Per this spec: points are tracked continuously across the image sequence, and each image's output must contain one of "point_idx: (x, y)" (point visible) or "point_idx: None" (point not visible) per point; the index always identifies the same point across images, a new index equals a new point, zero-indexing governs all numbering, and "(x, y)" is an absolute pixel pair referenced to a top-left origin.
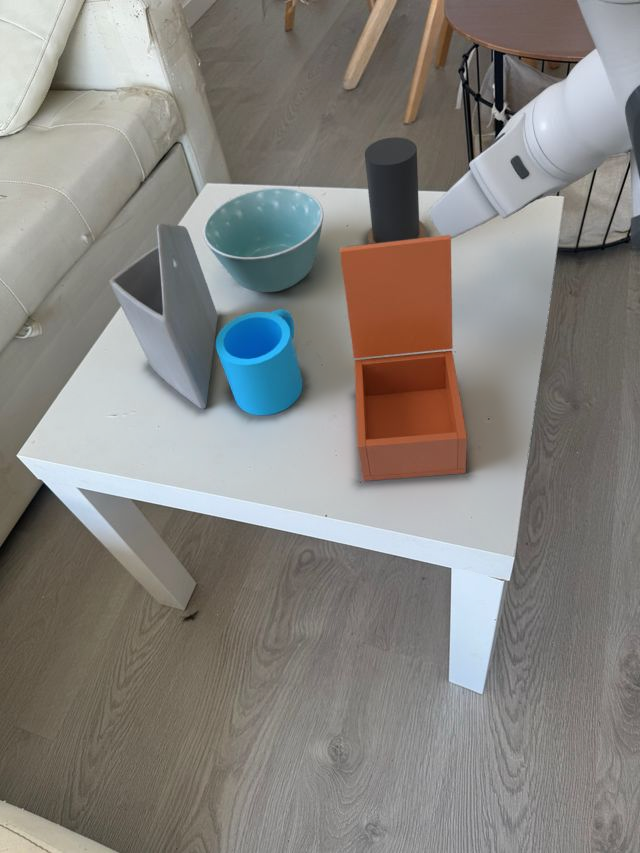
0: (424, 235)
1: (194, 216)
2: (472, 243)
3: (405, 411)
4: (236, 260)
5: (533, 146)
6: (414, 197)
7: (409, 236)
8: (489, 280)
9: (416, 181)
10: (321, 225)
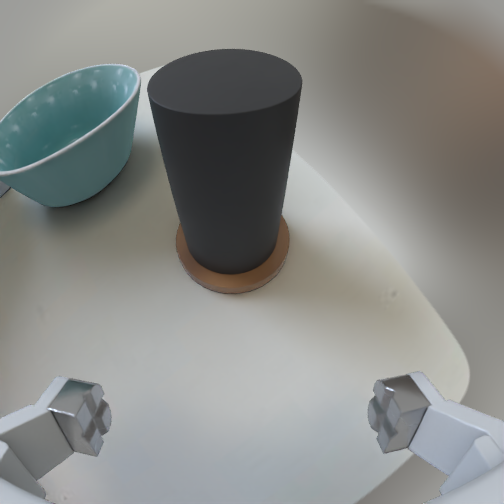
0: (259, 278)
1: (143, 73)
2: (317, 361)
3: None
4: None
5: None
6: (238, 214)
7: (219, 265)
8: (244, 465)
9: (255, 185)
10: (66, 155)
